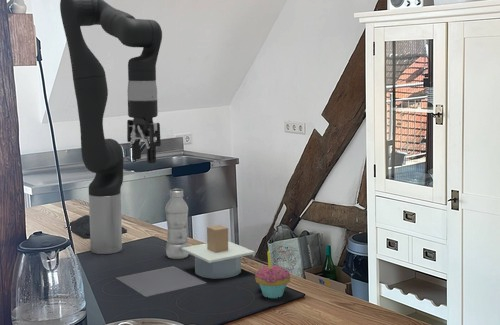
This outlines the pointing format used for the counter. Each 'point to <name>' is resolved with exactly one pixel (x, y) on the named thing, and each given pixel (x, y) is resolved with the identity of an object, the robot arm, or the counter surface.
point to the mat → (160, 281)
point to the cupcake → (272, 279)
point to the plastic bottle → (176, 225)
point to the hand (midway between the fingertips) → (143, 161)
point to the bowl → (218, 268)
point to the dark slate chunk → (84, 227)
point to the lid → (217, 246)
